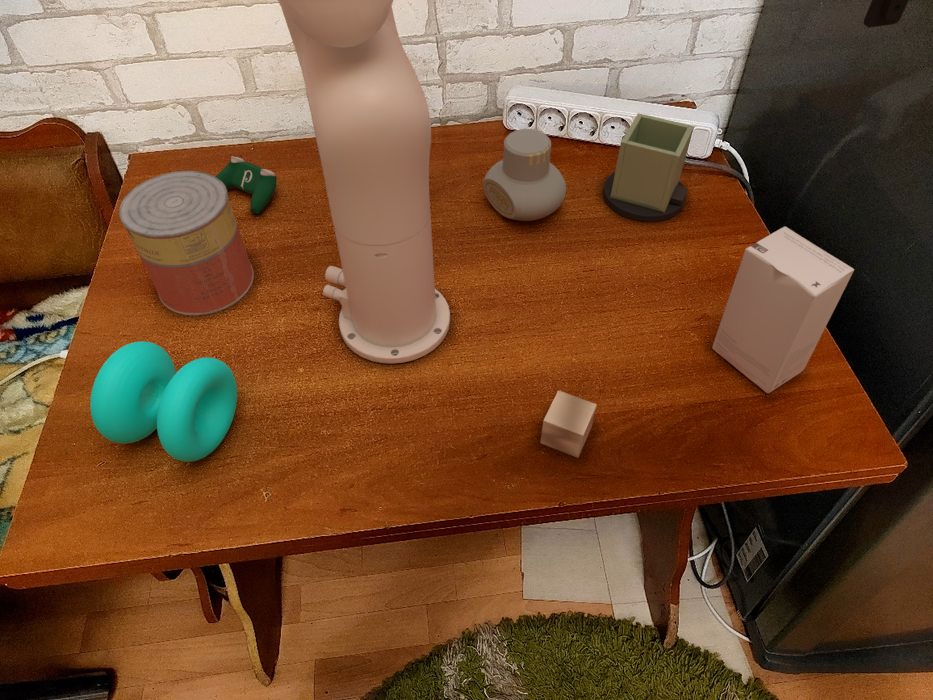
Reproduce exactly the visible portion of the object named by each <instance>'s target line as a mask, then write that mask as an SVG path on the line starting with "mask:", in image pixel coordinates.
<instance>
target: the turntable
mask: <svg viewBox="0 0 933 700" xmlns="http://www.w3.org/2000/svg"><path fill="white" fill-rule="evenodd" d="M614 175H615V171H614V172H612V173H611V174H610V175H608V176H607V178H606V179H605V181H604V183H603V189H602V196H603V200H604V202H605V203H606V206H608V207H609V208H610V209H611V210H612V211H614V212H615V213H616V214H617V215H620V216H622V217H624V218H626V219H630V220H633V221H637V222H643V223H644V222H646V223H649V222H650V223H654V222H655V223H656V222H662V221H666V220H669V219H671V218H673V217H675V216H677V215H679V213H680V212H681V211H682V210H683V208H684V206H685V203H686V200H687V195H686V196H685V198H684V200H683V202H682V205H677V204H674V203H670V202H669V204H668V206H667V208H666V210H665V212H661V211H658V210H654V209H650V208H647V207H643V206H639V205H636V204H632V203H628V202H625V201H621V200H618V199H614V198H610V196H611V191H612V186H613V181H614ZM677 186H681V187H684V185H683V184H682V182H680V180H679V183H678V185H677Z"/></svg>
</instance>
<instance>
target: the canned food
mask: <svg viewBox="0 0 933 700" xmlns="http://www.w3.org/2000/svg"><path fill="white" fill-rule="evenodd" d="M215 176H216V175H212V174H210V173H207V172H203V171H198V170H197V171H196V170H177V171H171V172H167V173H163V174H159V175H157V176H153V177H151V178H149V179H146V180H144V181H143V182H141V183H139V184H138V185H137V186H135V187H134V188H132V190H131V189H130V191H129V192H128V193H127V194H126V195H125V197H124V198H123V199H122V201H121V202H120V205H119V210H118V211H119V212H118V216H119V219H120V222H121V223H122V225H123V226H124V227H125V229H126V231H127V233H128V236H129V237H130V239H131V241H132V243H133V246H134V247H135V250H136V251H137V254H138V256H139V257H140V260H141V263H142V264H143V266H144V268H145V270H146V272H147V274H148V276H149V278H150V280H151V282H152V285H153V286H154V288H155V290H156V292H157V296H158V298H159V300H160V302H161V303H162V305H163V306H164V307H165V308H167V309H168V310H170V311H172V312H173V313H176V314H180V315H184V316H193V317H195V316H206V315H212V314H215V313H218V312H222V311H224V310H226V309H228V308H230V307H232V306H233V305H235V304H237V303H238V302H239V301H240V300H242V299H243V297H245V296H246V294H248V292H249V290H250V289H251V287H252V286H253V283H254V278H255V272H254V269H253V265H252V264H251V261H250V258H249V255H248V252H247V250H246V246H245V242H244V240H243V237H242V234H241V231H240V229H239V226H238V225H239V224H238V223H237V220H236V219H237V218H236V216H235V213H234V210H233V206H232V203H231V201H230V198H229V192H228V191H227V189H226V187H225V185H224V184H223V182H222V181H221V180H219V179H218V178H216V177H215Z"/></svg>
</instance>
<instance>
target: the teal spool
mask: <svg viewBox="0 0 933 700" xmlns="http://www.w3.org/2000/svg"><path fill="white" fill-rule="evenodd" d="M89 402H90V404H89V405H90V415H91V419H92V422H93V424H94V426H95V429H96V430H97V431H98V432H99V434H100V435H101V436H102V437H104V438H105V439H106V440H108V441H110V442H113V443H116V444H125V445H126V444H132V443H137V442H140V441H142V440H144V439H145V438H147V437H149V436H150V435H151V434H153V433H154V432H155V431H156V430H157V436H158V440H159V442H160V444H161V446H162V448H163V450H164V451H165V452H166V453H167V454H168V455H169V456H170V457H172V458H173V459H175V460H177V461H180V462H185V463H189V462H190V463H191V462H197V461H201V460H202V459H204V458H206V457H208V456H209V455H211V454H212V453H213V452H214V451H215V450H216V449H217V448H218V447H219V446H220V444H222V442H223V440H224V439H225V437H226V436H227V434H228V432H229V430H230V428H231V425H232V423H233V421H234V417H235V414H236V409H237V404H238V403H237V402H238V385H237V381H236V377H235V375H234V373H233V371H232V369H231V368H230V367H229V366H228V365H227V364H226V363H225V362H224V361H222V360H221V359H219V358H215V357H208V356H206V357H199V358H196V359H193V360H191V361H188V362H187V363H186V364H184V365H183V366H182V367H181V368H179V370H178V371H176V367H175V364H174V361H173V359H172V357H171V356H170V355H169V353H168V352H167V351H166V350H165V349H164V348H163V347H162V346H160V345H158V344H156V343H154V342H150V341H144V340H143V341H139V340H138V341H134V342H133V341H132V342H130V343H128V344H125V345H123V346H121V347H120V348H118V349H117V350H115V351H114V352H113V353H112V354H111V355H110V356H109V357H108V358H107V359H106V360H105V361H104V363H103V364H102V366H101V367H100V368H99V371H98V373H97V374H96V377H95V379H94V382H93V384H92V387H91V393H90V401H89Z"/></svg>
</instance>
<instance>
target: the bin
mask: <svg viewBox="0 0 933 700" xmlns="http://www.w3.org/2000/svg"><path fill="white" fill-rule="evenodd" d="M694 129H695V126H694V125H691V124H686V123H682V122H678V121H675V120H670V119H667V118H660V117H657V116H652V115H648V114H645V113H640V112H638V113H637V114H636V115H635V117H634V119H633V121H632V122H631V124H630V126H629V128H628V129H627V131H626V133H625V134H624V136H623V138H622V139H621V141H620V144H619V149H618V155H617V159H616V164H615V170H614V172H615V175H614V181H613V186H612V191H611V196H610V198H614V199H618V200H621V201H625V202H628V203H632V204H636V205H639V206H643V207H647V208H650V209H654V210H658V211H661V212H665V210H666V208H667V206H668V204H669V202H670V203H674V204H677V205H682V202H683V200H684V198H685V196H686V197H687V193H688V190H689V188H687V187H684V186H683V187H681V186H677V185H678V183H679V181H680V179H681V177H682V176H681V175H682V173H683V168H684V165H685V162H686V158H687V154H688V152H689V151H688V149H689V147H690V143H691V139H692V136H693V132H694Z"/></svg>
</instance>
